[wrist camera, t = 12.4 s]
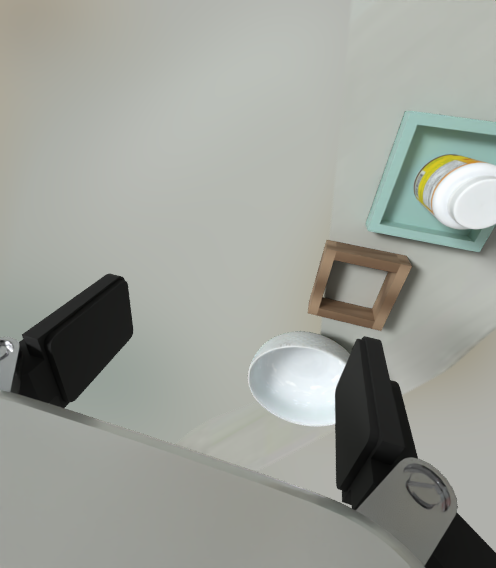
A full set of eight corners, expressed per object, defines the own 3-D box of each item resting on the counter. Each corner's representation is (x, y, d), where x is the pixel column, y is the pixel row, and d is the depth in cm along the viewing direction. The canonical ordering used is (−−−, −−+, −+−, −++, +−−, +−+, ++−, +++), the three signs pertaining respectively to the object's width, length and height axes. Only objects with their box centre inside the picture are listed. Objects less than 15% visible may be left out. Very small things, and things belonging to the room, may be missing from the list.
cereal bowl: (365, 321, 42) (371, 354, 36) (354, 397, 50) (357, 435, 45) (253, 312, 47) (242, 341, 41) (259, 384, 55) (250, 417, 49)
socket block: (326, 239, 38) (326, 248, 35) (406, 255, 36) (411, 266, 34) (309, 301, 43) (307, 313, 40) (378, 317, 41) (381, 330, 39)
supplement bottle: (481, 185, 30) (541, 213, 22) (426, 216, 33) (460, 252, 24) (457, 140, 29) (511, 150, 20) (402, 176, 32) (429, 198, 23)
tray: (405, 111, 29) (410, 110, 27) (536, 128, 27) (553, 129, 25) (365, 223, 35) (367, 230, 33) (470, 243, 34) (479, 252, 32)
